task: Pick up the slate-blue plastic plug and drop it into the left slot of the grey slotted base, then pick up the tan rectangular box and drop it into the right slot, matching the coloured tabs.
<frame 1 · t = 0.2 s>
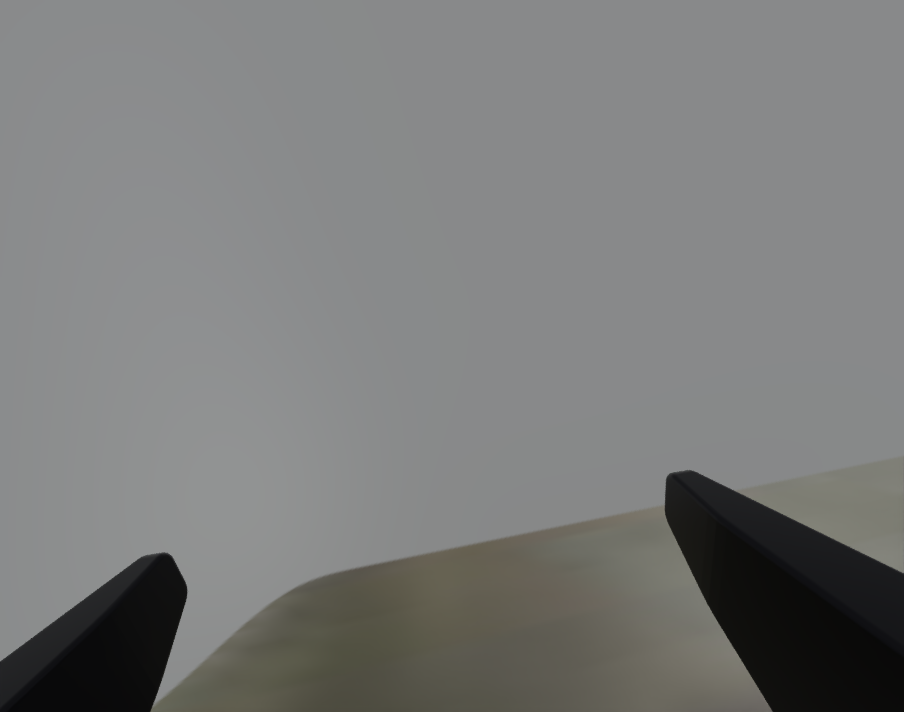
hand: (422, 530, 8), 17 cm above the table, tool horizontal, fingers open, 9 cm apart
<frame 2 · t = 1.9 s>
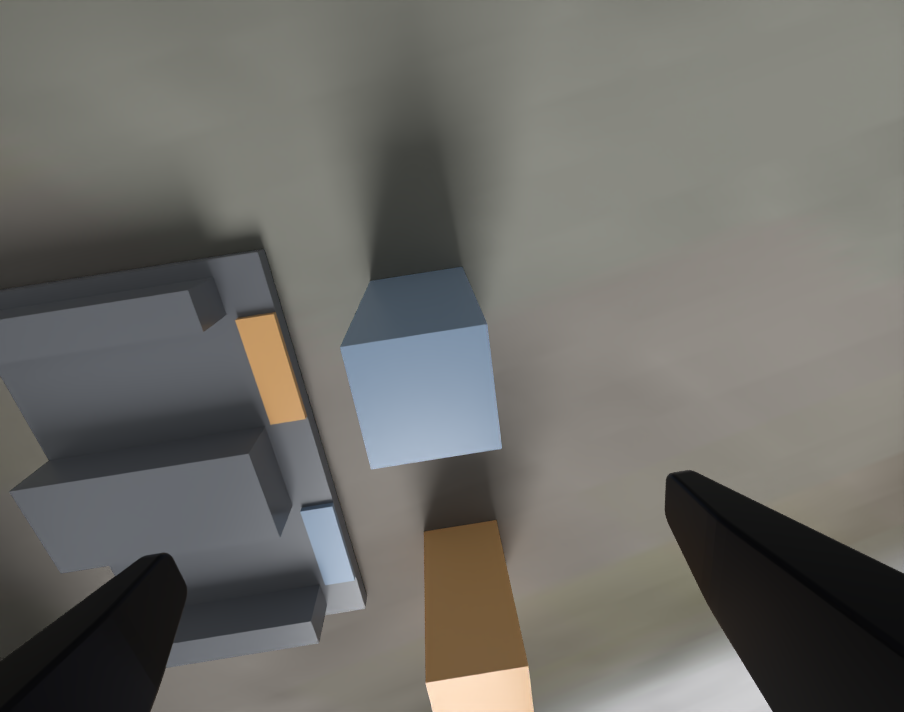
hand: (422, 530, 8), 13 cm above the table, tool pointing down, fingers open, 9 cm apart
grey slotted base: (203, 470, 23), on the table
blue plug: (423, 317, 21), on the table
tan rectangular box: (464, 553, 26), on the table
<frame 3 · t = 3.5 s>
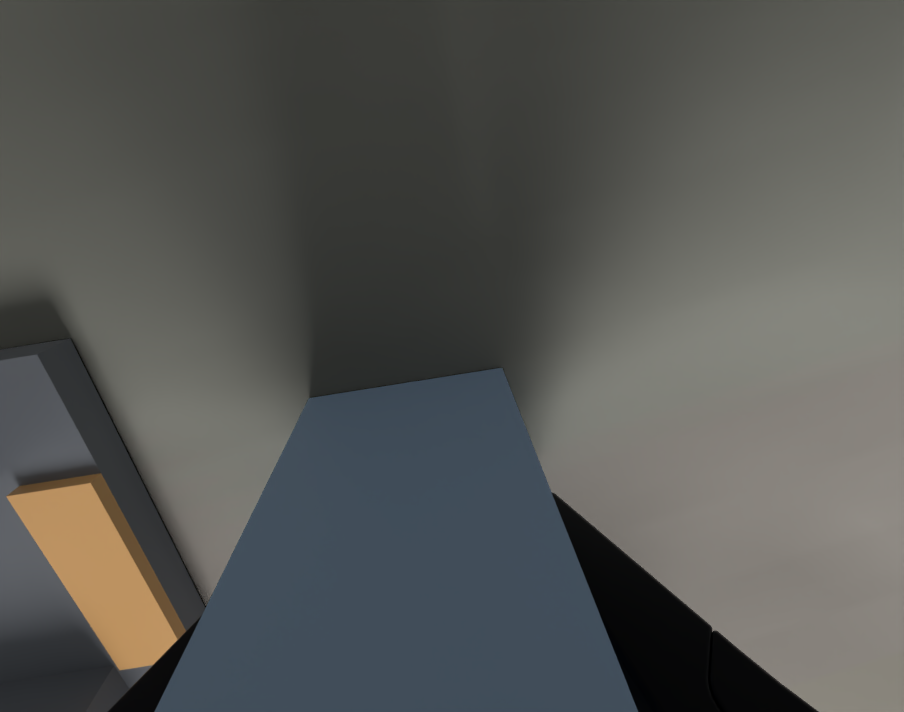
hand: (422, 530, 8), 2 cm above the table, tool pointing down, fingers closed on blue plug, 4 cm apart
blue plug: (422, 463, 10), on the table, touching gripper
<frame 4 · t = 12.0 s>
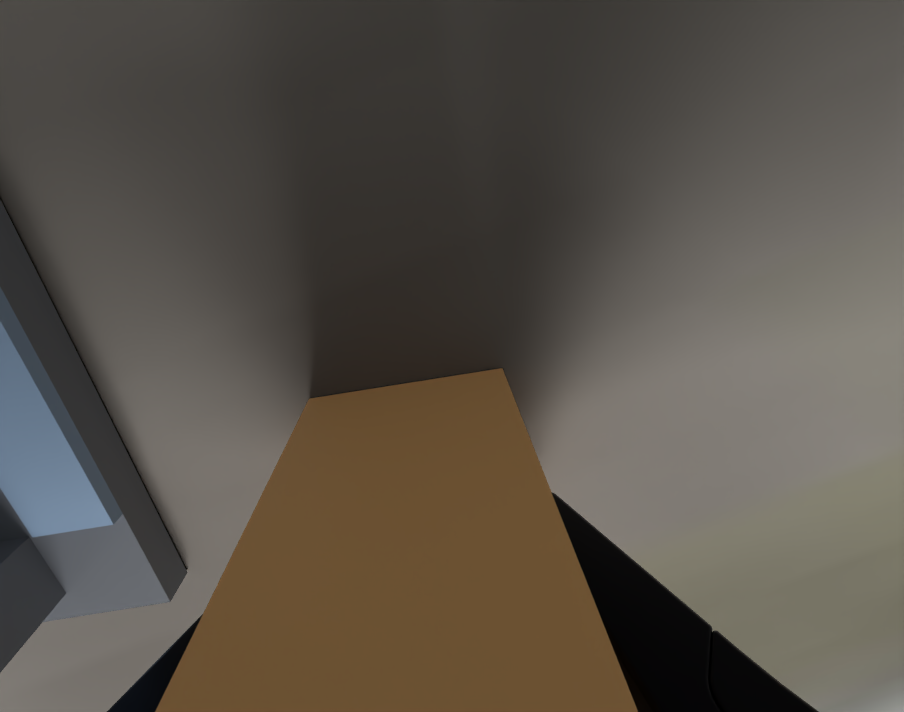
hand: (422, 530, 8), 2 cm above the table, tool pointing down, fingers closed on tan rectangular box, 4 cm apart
tan rectangular box: (422, 463, 10), on the table, touching gripper
when the fingers open (4 cm above the table, at t = 16.2 s): tan rectangular box drops 1 cm, resting on grey slotted base.
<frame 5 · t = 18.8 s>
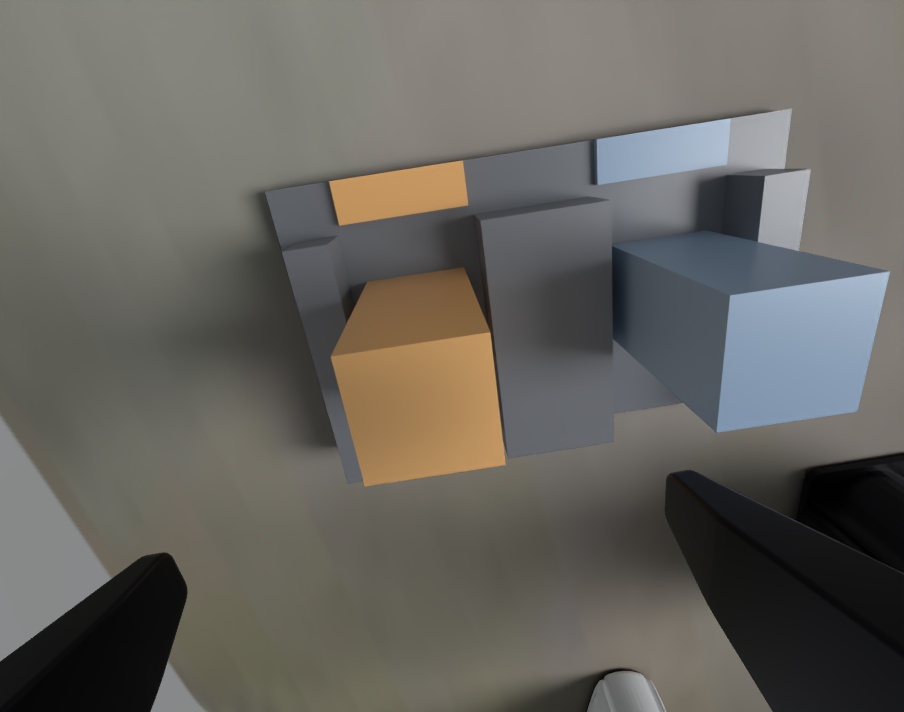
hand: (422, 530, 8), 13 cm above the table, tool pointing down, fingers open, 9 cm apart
grey slotted base: (535, 298, 20), on the table
blue plug: (656, 285, 20), point 1 cm above the table, touching grey slotted base
tan rectangular box: (423, 320, 20), point 1 cm above the table, touching grey slotted base
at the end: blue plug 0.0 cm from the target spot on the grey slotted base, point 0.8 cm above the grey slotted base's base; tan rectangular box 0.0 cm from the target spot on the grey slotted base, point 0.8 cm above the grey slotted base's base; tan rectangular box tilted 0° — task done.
